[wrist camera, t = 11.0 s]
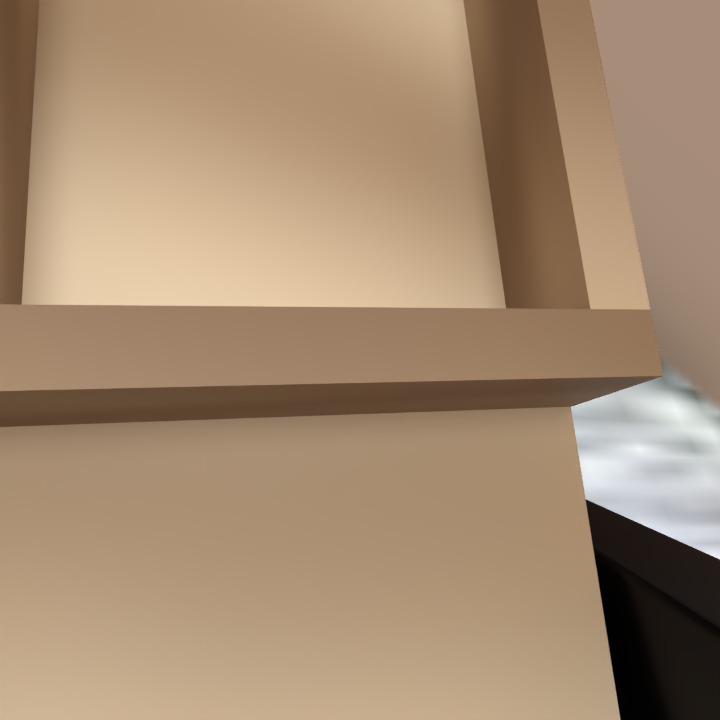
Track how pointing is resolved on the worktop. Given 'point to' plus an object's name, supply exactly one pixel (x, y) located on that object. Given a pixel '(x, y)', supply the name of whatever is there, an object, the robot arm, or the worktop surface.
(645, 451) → the worktop surface
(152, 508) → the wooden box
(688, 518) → the worktop surface
